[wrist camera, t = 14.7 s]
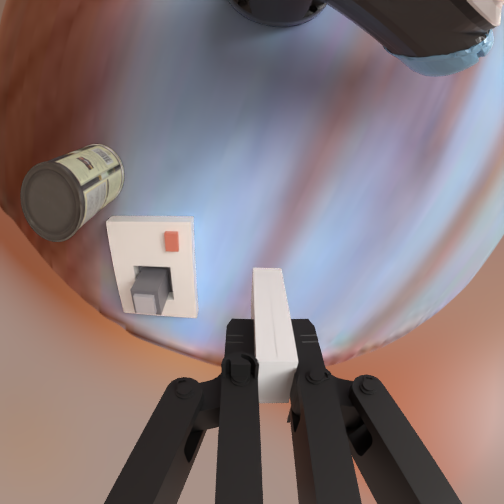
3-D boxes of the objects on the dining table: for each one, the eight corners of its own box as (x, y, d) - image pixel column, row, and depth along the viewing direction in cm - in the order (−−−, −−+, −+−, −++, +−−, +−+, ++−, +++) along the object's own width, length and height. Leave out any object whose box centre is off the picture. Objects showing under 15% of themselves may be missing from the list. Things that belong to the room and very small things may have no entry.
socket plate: (111, 215, 45) (103, 223, 42) (193, 216, 45) (189, 224, 42) (127, 304, 53) (122, 315, 50) (198, 309, 54) (196, 320, 51)
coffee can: (68, 197, 43) (20, 230, 30) (76, 138, 39) (22, 156, 26) (119, 212, 45) (79, 252, 32) (130, 151, 40) (86, 171, 28)
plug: (143, 266, 49) (128, 292, 42) (168, 267, 49) (156, 294, 42) (146, 287, 51) (133, 315, 44) (170, 289, 51) (160, 318, 44)
